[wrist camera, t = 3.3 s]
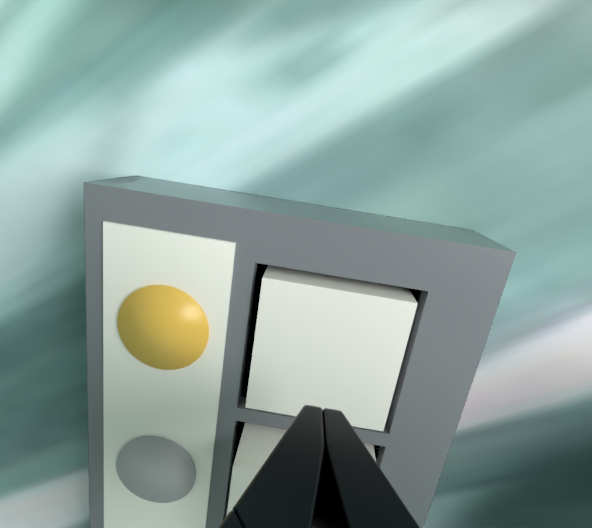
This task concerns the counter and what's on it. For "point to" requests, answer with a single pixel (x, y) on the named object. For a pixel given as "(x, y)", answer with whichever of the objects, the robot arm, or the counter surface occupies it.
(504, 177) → the counter surface
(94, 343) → the board
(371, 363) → the button
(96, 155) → the counter surface
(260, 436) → the button
